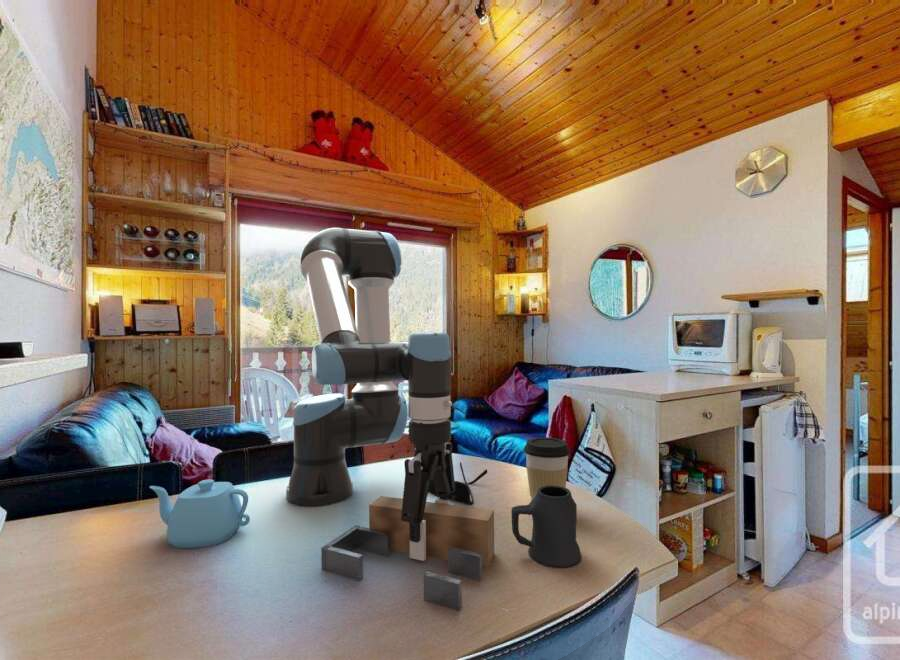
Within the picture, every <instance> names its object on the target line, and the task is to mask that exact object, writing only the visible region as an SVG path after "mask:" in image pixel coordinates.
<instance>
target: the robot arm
mask: <svg viewBox="0 0 900 660" xmlns="http://www.w3.org/2000/svg"><path fill="white" fill-rule="evenodd" d="M299 266H300V272H301V275H302V277H303V278H304V279H305V281H307V284H308V289H309V295H310V300H311V304H312V309H313V313H314V319H315V324H316V328H317V333H318V338H319V339H318V340H319V343H318V344H316V345H314V347H312V348H313V349H312V352H311V369H312V371H311V372H312V373H311V374H312V378H313V381H314V382H315V383H317V385H320V386H321V385H324V386H325V385H326V386H327V385H328V386H329V385H331V386H342V385H347V384H348V385H350V384H356V385H355V386H354V387H353V389H352V390H351V398H349V399H348V398H347V399H346V397H345V395H344V394H343V393H326V394H322V395H320V394H319V395H315V396H312V397H311V396H310V397H308V398H304V399H303V400H300V401H299V402H297V403H296V405H294V408H293V409H294V410H293V421H292V426H293V467H292V470H291V473H290V478H289V482H288V484H287V487H286V491H285V493H286V494H285V495H286V497H285V498H286V501H287V502H288V503H289V504H291V505H293V506H296V507H303V508H304V507H305V508H317V507H318V508H319V507H320V508H321V507H325V506H331V505H334V504H337V503H341V502H343V501H345V500H347V499H349V498H350V497H351V496H352V495H353V493H354V490H353V489H354V488H353V487H354V485H353V484H354V483H353V479H352V478H351V476H350V472H349V469H348V466H347V465H348V464H347V462H346V449H348V448H357V447H364V446H366V447H367V446H373V445H385V444H388V443H393V442H397V441H399V440H400V439H401V438H402V437H403V435H404V433H405V430H406V428H407V424H408V440H409V442H410V443H412V444H413V445H414V448H415V449H414V455H413V458H411V459H409V458H405V460H404V464H403V465H404V473H405V475H404V484H403V492H402V493H403V495H402V499H403V503H402V513H401V520H402V521H405V522H409V532H410V533H409V534H410V553H409V558H410V559H414V560H417V561H422V562H425V561H426V560H427V556H426V520H423V515H424V510H425V505H426V502H427V499H428V494H429V492H428V489H429V484H430V481H431V480H433V482H434V485H435V489H436V493H437V496H438V497H437V496H436V498H435V499H434V503H442V504H450V503H451V501H453V500H454V498H455V494H452V493H451V492H455V481H456V480H455V473H454V472H455V471H454V462H453V443H452V442H450V441H451V439H452V422H451V420H450V419H449V418H450V417H451V415H452V413H451V410H452V408H451V407H452V406H453V402H452V401H451V375H452V374H451V372H452V371H451V370H452V369H451V368H452V367H451V364H452V361H451V358H452V351H451V343H450V336H449V334H448V333H446V332H441V331H440V332H437V331H436V332H434V331H433V332H431V331H430V332H429V331H428V332H412V333H410V334H409V335H408V338H407V340H406V341H403V340H402V341H398V342H395V341H394V342H391V321H390V320H391V319H390V299H389V298H390V295H389V293H390V292H389V289H390V288H391V287H392V286H393V285H394V283H395V279H396V278H398V277H399V275H400V274H401V269H402V268H401V266H402V252H401V248H400V245H399V242H398V240H397V239H396V237H395V235H393V234H392V233H390V232H384V231H383V232H382V231H379V230H365V229H356V228H355V229H353V228H341V227H331V228H329V227H328V228H326V229H323V230H321V231H319V232H317V233H315V234H314V235H313V236H312V237H310V238H309V239H308V241H306V243H305V245H304V247H303V248H302V250H301V253H300V256H299ZM343 276H347V280H348V281H347V282H348V286H350V287H351V288H352V289H354V308H355V311H354V313H355V314H354V313H353V310H352V307H351V304H350V300H349V295H348V292H347V289H346V286H345V283H344V279H343ZM354 315H355V318H354ZM399 381H400V382H401V381H407V382H408V385H407V386H408V395H407V396H408V400H406V398H405V396H404V395H401V394H399V388H398V387H397V385H396V384H394V383H393V382H399ZM407 401H408V405H407ZM408 418H409V419H410V420H409V422H408ZM421 473H425V474H427V475H425V474H421ZM449 484H450V485H449ZM449 499H452V500H449ZM450 505H451V504H450Z"/></svg>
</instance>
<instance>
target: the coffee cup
mask: <svg viewBox="0 0 900 660" xmlns="http://www.w3.org/2000/svg"><path fill="white" fill-rule="evenodd" d="M523 453H525V456H526V457H525V458H526V463H525V464H526V465H525V467H526V473H527V481H528V488H529V489H528V491H529V496H530V499H531V500H530V502H531V501H532V500H533V498H534V497H535V496H536V494H537V490H538V488H539V487H541V486H545V485H557V486H562V487H565V488H567V477H568V470H569V469H568V468H569V466H568V463H569V462H568V461H569V456H570V455H571V448H570V447H569V446H568V443H567V441H566V440H563V439H560V438H556V437H555V438H554V437H545V436H544V437H543V436H541V437H532V438H528V439H527V441H526V443H525V445H524V447H523Z"/></svg>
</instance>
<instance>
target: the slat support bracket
mask: <svg viewBox="0 0 900 660" xmlns="http://www.w3.org/2000/svg"><path fill="white" fill-rule="evenodd" d="M320 550H321V559H320V560H321V562H320V563H321V571H323V572H327V573H331V574H334V575H337V576H341V577H343V578H348V579H350V580H354V581H357V582H360V581H361V580H362V579H363V578H364V559H363V557H364V554H362V553H358V552H355V551H356V550H360V551H363V552H366V553H370V554H375V555H379V556H382V557H384V558H389V556H391V555H392V550H391V533H387V532H383V531H378V530H374V529H370V528H369V527H364V526H361V525H360V526H359V525H356V524H355V525H354V526H353V527H351V528H349V529H348V530H346V531H345V532H343V533H342V534H339V536H337V537H335V538H334V539H332V540H331V541H329V542H327V543H326V544H325V545H323V546H322V547H321V549H320Z"/></svg>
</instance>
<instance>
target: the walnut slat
mask: <svg viewBox="0 0 900 660" xmlns="http://www.w3.org/2000/svg"><path fill="white" fill-rule="evenodd" d="M402 503H403V497H401V498H400V497H393V496H385V495H380V496H379V497H377V498H376V499H375V500H374V501H372V502H371V503H370V504H369V505H368V509H369V510H368V512H369V513H368V516H369V518H368V520H369V521H368V522H369V525H368V528H370V529H374V530H378V531H383V532H387V533H391V551H392V550H393V551H396V552H403V553H408V554H410V534H409V533H410V532H409V522H405V521H402V520H401V513H402ZM423 520H426V557H431V558H437V559H444V560H448V549H449V548H450V547H453V548H458V549H462V550H467V551H471V552H476V553H480V554H482V567H489V566H490V563H491V561H492V559H493V557H494V555H495V510H494V509H490V508H489V509H488V508H482V507H481V508H480V507H474V506H473V507H472V506H463V505H456V504H442V503H435V501H434V502H433V501H432V502H431V501H426V505H425V510H424V515H423Z"/></svg>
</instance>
